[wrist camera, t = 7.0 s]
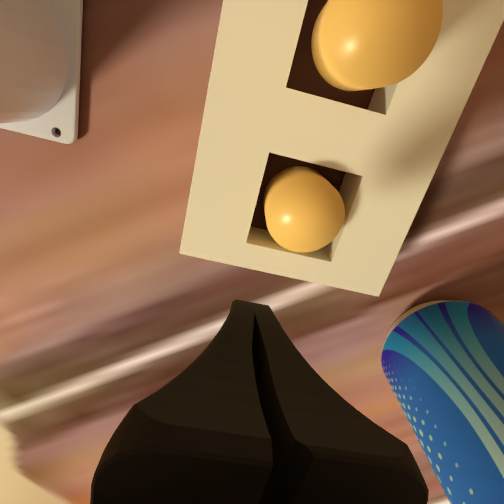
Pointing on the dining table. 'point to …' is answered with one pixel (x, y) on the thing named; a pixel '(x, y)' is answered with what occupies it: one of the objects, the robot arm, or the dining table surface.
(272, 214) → the button
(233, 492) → the robot arm
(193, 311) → the dining table surface
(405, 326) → the beer can
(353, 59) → the button
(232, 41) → the board
